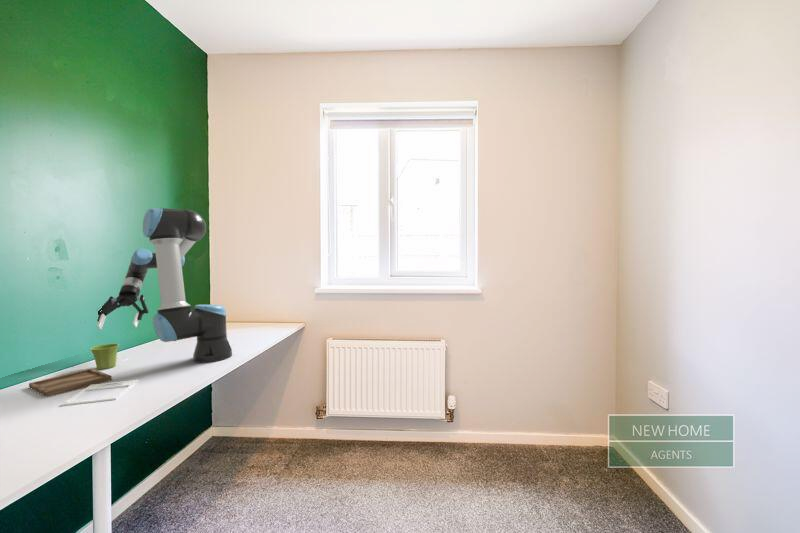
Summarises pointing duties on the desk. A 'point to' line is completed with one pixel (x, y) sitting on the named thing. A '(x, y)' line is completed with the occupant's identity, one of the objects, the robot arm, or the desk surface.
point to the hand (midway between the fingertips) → (116, 327)
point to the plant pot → (105, 355)
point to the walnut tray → (69, 382)
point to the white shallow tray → (102, 386)
